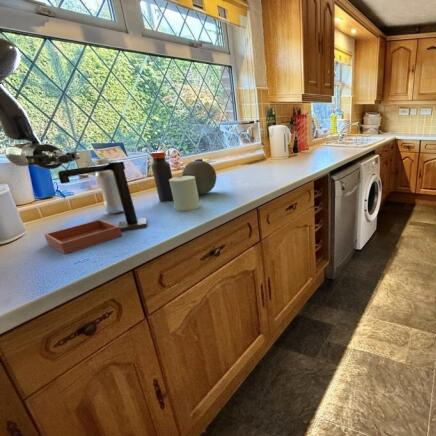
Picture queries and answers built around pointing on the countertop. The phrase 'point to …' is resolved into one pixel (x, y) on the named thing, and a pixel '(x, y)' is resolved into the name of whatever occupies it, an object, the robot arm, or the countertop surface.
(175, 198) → the can
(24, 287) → the countertop surface
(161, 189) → the vinegar
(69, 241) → the reddish brown tray
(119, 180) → the faucet base
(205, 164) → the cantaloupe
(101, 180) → the plastic bottle
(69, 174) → the spout
